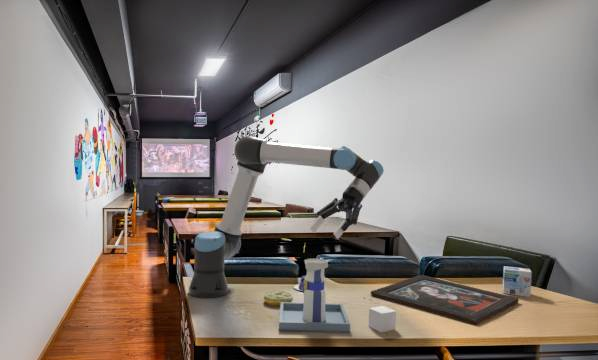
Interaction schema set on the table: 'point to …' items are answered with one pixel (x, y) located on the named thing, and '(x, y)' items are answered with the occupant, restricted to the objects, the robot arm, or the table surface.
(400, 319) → the table surface
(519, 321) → the table surface
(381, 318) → the white cube
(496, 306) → the religious icon
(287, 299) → the decorated donut
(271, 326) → the table surface
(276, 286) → the table surface
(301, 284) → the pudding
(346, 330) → the blue-gray tray
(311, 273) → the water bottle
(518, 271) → the light bulb box
